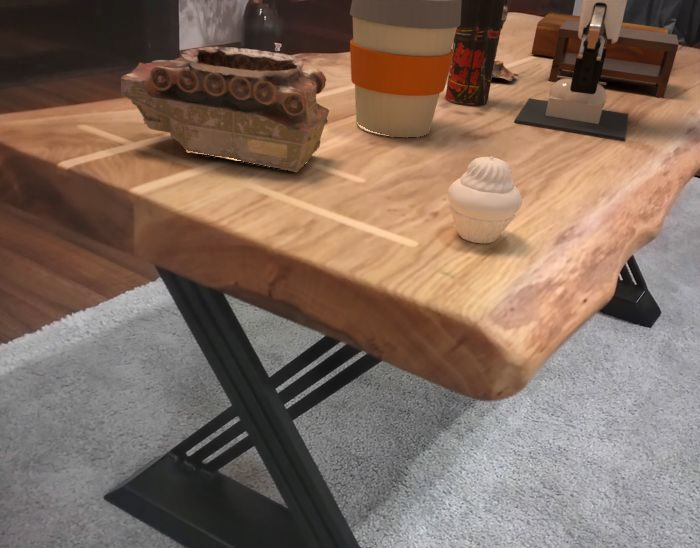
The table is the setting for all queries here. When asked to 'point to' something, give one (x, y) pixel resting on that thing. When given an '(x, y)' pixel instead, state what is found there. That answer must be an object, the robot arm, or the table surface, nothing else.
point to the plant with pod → (498, 67)
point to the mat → (608, 126)
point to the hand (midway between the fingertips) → (585, 85)
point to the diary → (549, 34)
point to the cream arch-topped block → (575, 102)
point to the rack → (621, 67)
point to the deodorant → (474, 52)
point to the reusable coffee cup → (401, 62)
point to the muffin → (484, 200)
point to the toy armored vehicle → (233, 104)
